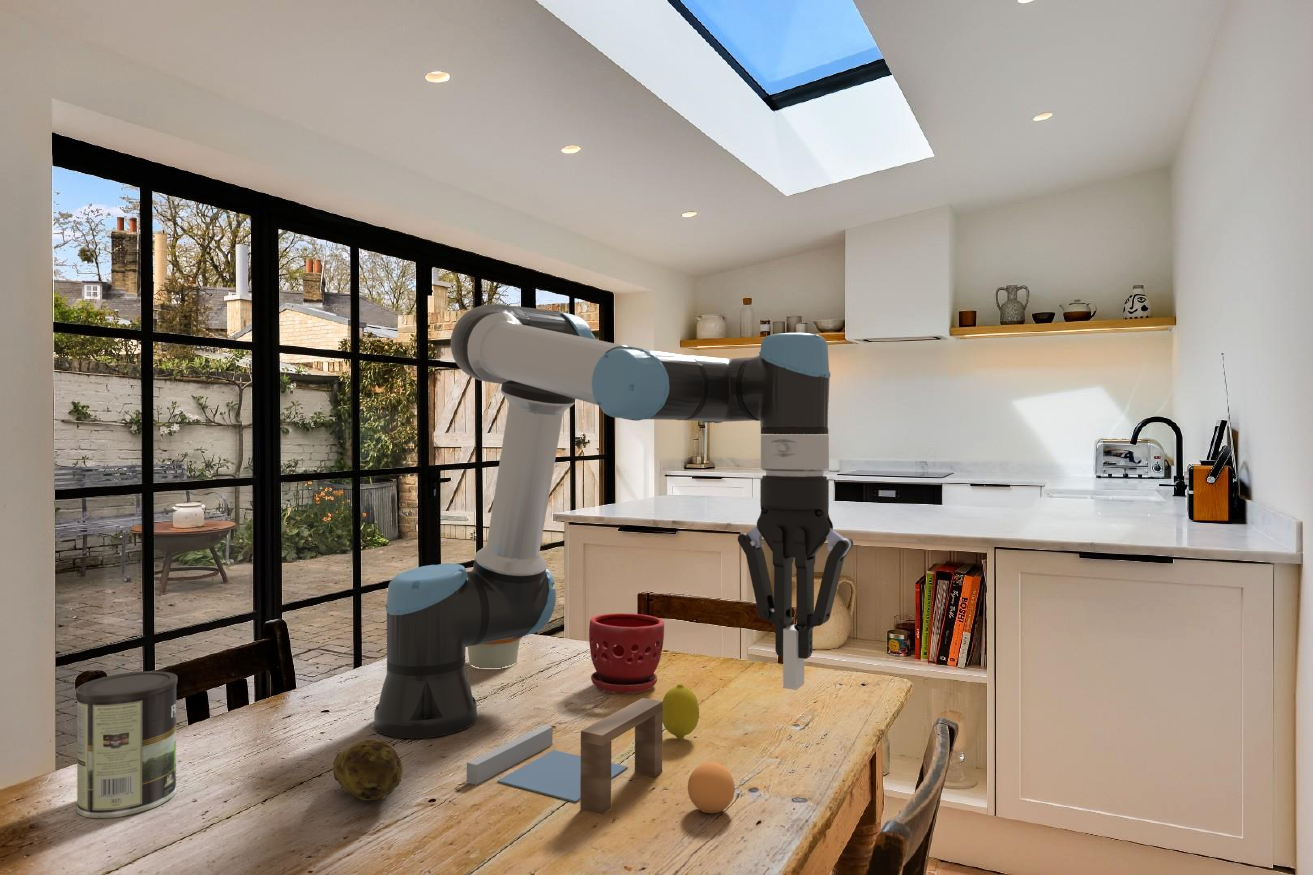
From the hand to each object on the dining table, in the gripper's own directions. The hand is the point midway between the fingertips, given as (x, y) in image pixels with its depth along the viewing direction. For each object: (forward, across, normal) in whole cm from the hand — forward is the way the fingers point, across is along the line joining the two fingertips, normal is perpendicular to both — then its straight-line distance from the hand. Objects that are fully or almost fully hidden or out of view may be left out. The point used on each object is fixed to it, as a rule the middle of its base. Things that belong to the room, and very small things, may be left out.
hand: (793, 685), depth 93 cm
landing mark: (+16, -31, 0) cm, 35 cm away
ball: (+13, -10, 0) cm, 17 cm away
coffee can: (+16, -72, -32) cm, 81 cm away
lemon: (+16, -24, +19) cm, 35 cm away
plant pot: (+16, -44, +37) cm, 60 cm away
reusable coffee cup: (+16, -74, +37) cm, 84 cm away
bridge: (+16, -22, 0) cm, 27 cm away
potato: (+16, -47, -18) cm, 53 cm away
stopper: (+16, -40, 0) cm, 43 cm away
